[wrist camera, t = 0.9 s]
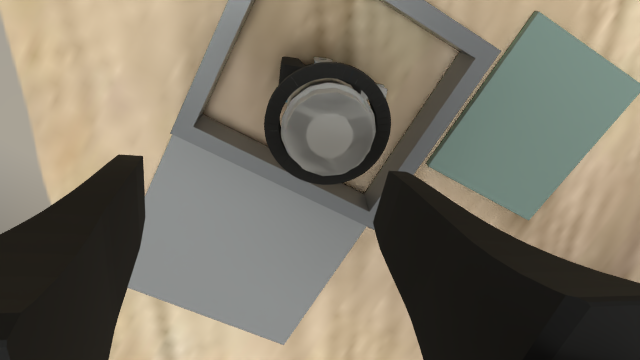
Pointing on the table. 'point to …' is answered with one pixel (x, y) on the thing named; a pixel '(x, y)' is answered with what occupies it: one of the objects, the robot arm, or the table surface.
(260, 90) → the table surface
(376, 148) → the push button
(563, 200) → the table surface
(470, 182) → the mat
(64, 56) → the table surface
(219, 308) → the equipment case
